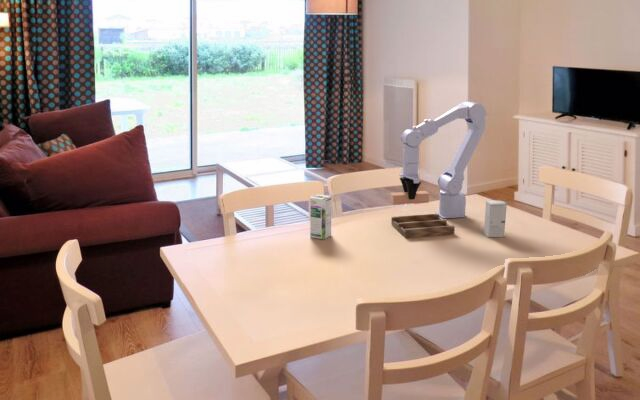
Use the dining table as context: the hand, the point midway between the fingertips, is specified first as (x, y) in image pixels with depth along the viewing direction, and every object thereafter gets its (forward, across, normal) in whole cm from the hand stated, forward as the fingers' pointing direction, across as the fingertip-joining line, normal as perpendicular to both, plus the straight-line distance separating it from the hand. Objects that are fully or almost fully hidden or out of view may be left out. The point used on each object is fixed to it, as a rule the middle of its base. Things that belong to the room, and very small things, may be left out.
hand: (409, 197), depth 246 cm
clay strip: (+2, 0, 0) cm, 2 cm away
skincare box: (+8, +26, +22) cm, 35 cm away
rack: (+8, +14, 0) cm, 16 cm away
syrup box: (+8, +13, -37) cm, 40 cm away
